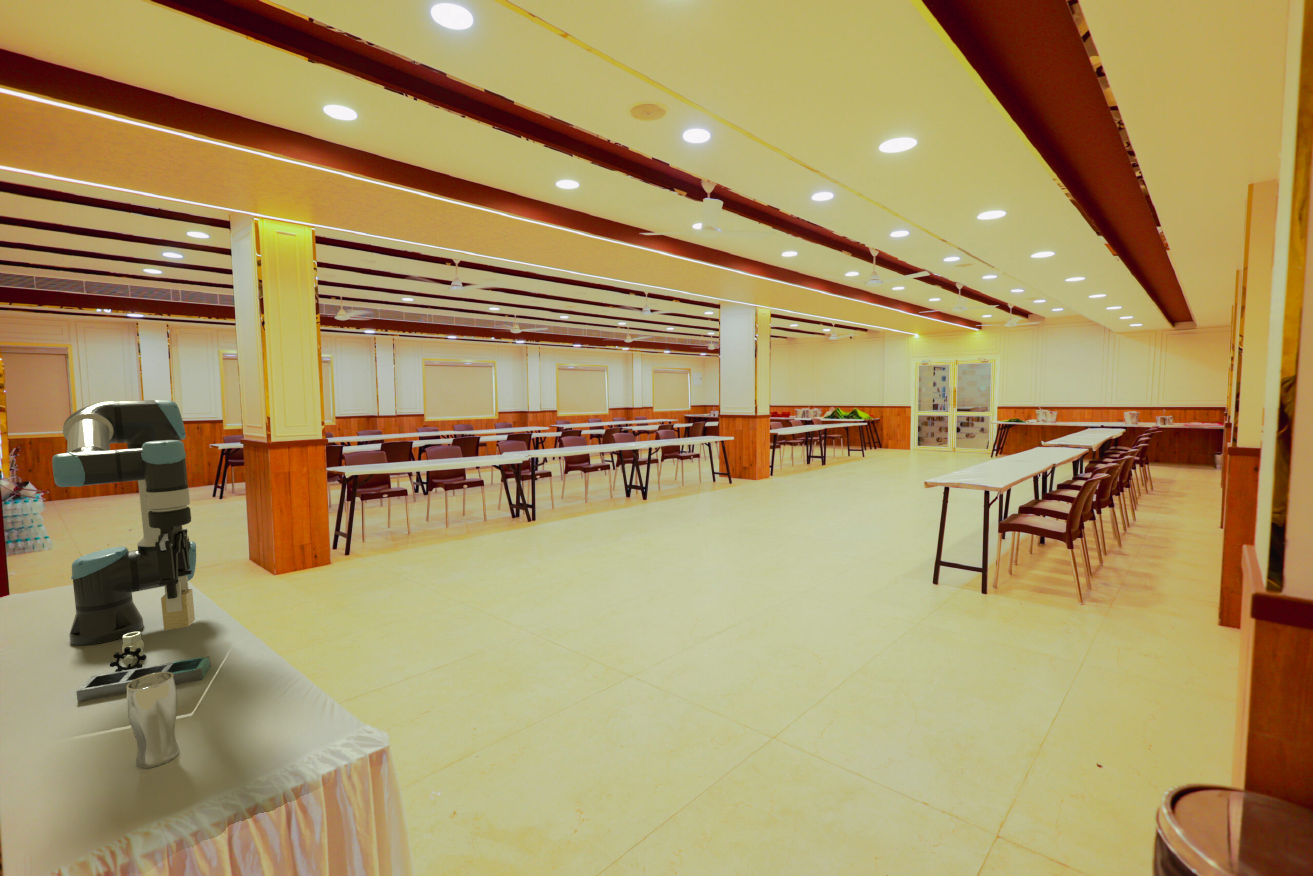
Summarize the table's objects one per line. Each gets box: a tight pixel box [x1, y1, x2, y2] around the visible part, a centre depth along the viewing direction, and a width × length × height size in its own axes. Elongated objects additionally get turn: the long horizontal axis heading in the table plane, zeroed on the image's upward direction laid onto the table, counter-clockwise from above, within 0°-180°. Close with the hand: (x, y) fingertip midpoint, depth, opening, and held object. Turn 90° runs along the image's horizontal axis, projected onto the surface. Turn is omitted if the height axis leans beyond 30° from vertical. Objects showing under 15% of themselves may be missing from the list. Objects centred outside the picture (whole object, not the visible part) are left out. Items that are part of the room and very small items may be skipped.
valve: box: [109, 631, 147, 672], centre depth 147 cm, size 7×7×12 cm
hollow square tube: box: [160, 588, 196, 631], centre depth 138 cm, size 5×5×8 cm
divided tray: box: [75, 656, 211, 703], centre depth 137 cm, size 7×22×3 cm, turn 114°
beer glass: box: [126, 672, 180, 770], centre depth 109 cm, size 7×7×15 cm
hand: (178, 607), depth 138 cm, fingers closed on hollow square tube, 5 cm apart
